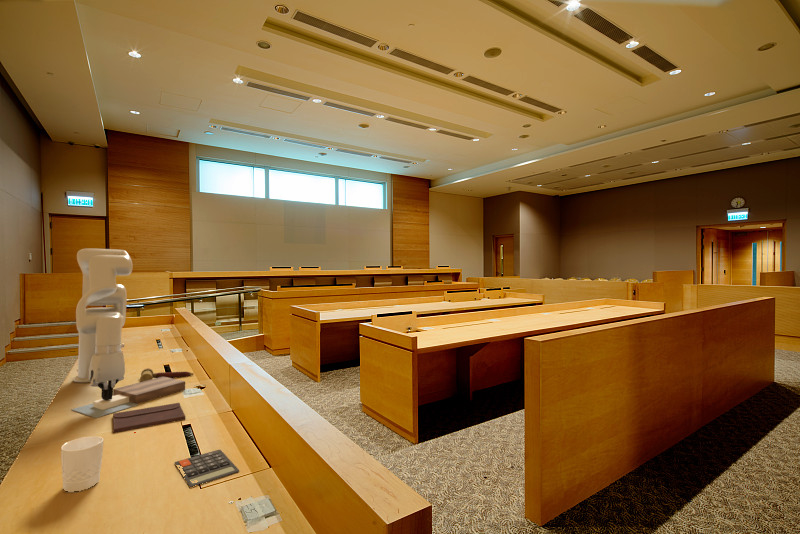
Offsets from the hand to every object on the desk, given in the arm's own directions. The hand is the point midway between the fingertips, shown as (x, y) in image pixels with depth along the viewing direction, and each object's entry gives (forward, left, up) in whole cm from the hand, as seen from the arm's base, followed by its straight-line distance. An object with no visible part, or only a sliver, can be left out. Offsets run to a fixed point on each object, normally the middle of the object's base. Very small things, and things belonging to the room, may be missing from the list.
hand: (107, 399), depth 143 cm
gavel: (-14, +33, -3) cm, 36 cm away
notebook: (+24, 0, -3) cm, 24 cm away
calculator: (+68, -13, -3) cm, 69 cm away
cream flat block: (0, +1, -2) cm, 3 cm away
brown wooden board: (0, +16, -3) cm, 16 cm away
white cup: (+49, -32, -3) cm, 59 cm away
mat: (+1, -1, -3) cm, 3 cm away
